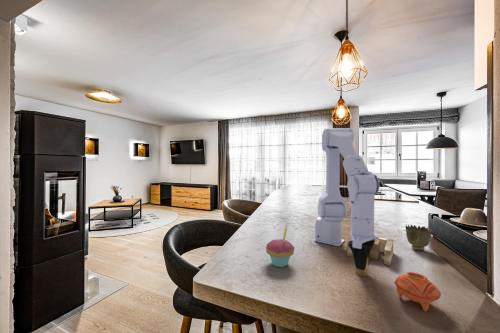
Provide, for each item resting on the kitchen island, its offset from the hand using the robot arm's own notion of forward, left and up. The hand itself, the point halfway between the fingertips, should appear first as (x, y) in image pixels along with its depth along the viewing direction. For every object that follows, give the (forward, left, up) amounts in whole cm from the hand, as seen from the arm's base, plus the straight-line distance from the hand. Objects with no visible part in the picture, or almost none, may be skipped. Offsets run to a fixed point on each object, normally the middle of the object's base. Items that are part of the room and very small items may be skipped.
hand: (361, 266), depth 60 cm
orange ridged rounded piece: (+12, -6, -2) cm, 14 cm away
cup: (+13, +32, -2) cm, 34 cm away
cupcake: (-21, -8, -2) cm, 23 cm away
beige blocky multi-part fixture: (0, +17, -2) cm, 17 cm away
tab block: (0, +8, -2) cm, 8 cm away
